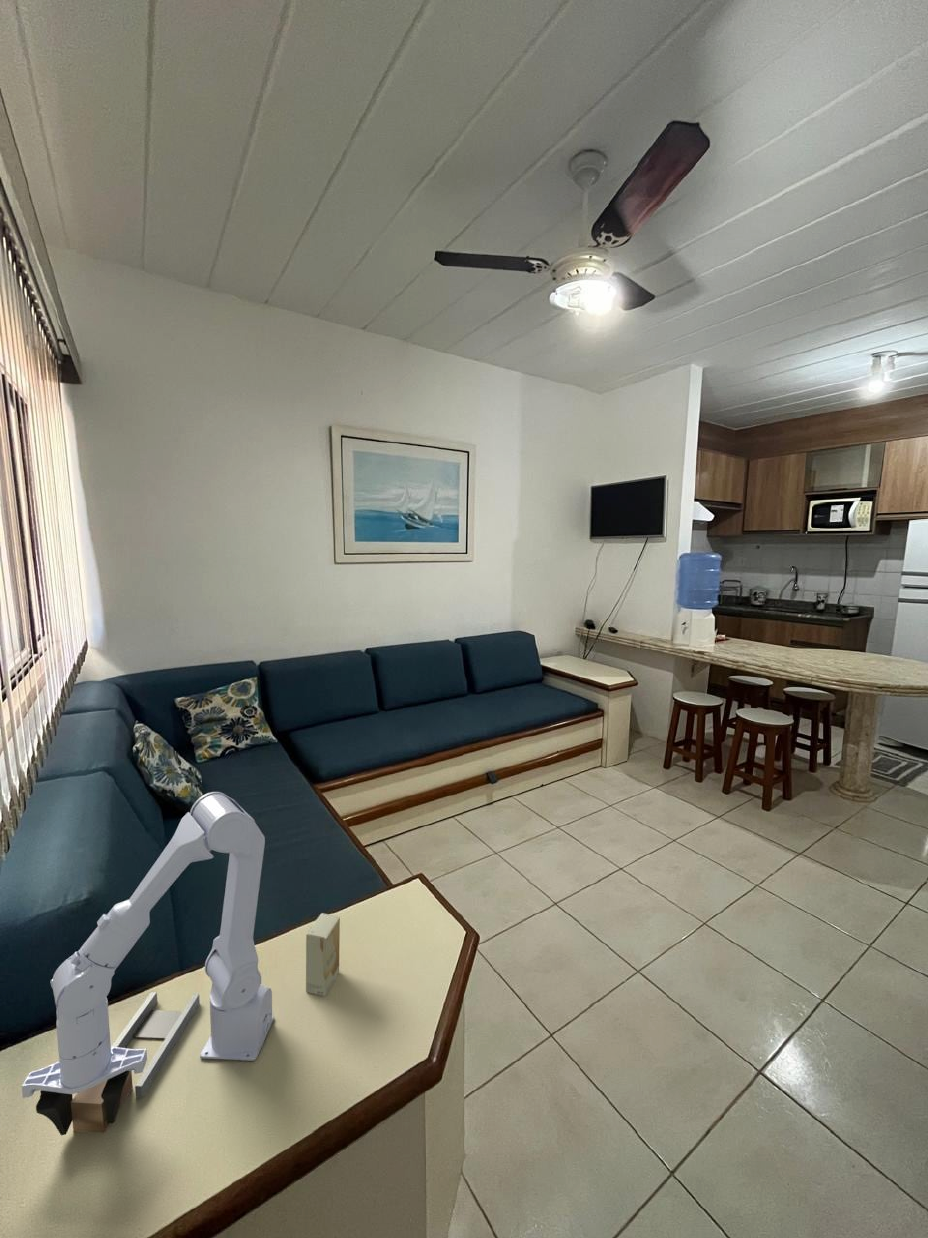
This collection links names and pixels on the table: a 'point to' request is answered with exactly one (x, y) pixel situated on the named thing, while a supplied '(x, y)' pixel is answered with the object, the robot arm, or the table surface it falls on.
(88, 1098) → the walnut block
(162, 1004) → the table surface
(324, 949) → the skincare box
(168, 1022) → the channel
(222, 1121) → the table surface
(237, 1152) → the table surface
